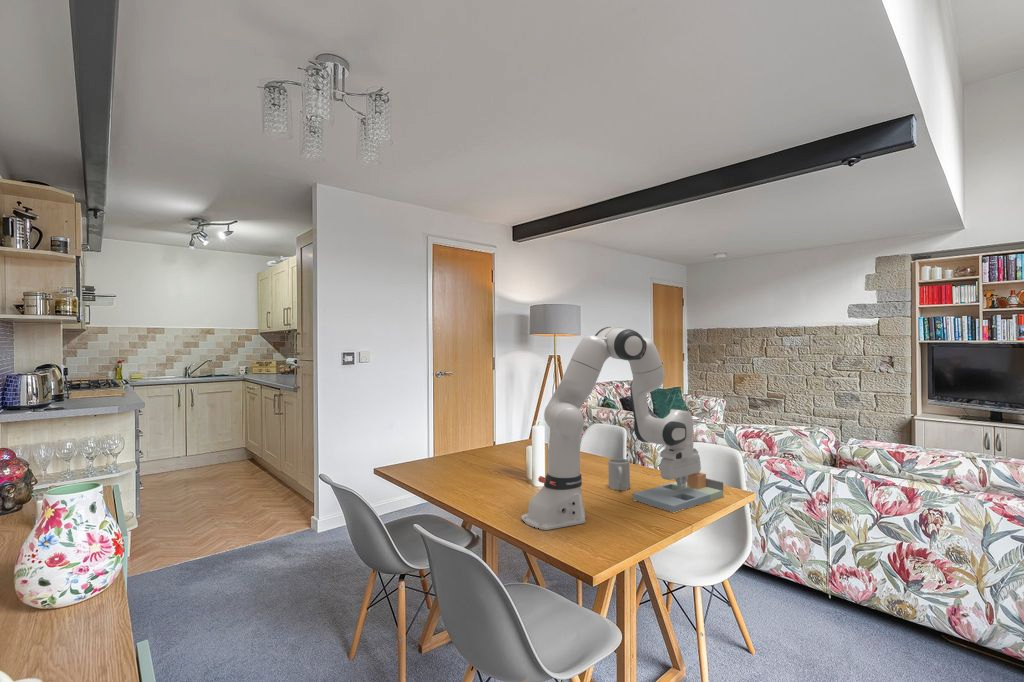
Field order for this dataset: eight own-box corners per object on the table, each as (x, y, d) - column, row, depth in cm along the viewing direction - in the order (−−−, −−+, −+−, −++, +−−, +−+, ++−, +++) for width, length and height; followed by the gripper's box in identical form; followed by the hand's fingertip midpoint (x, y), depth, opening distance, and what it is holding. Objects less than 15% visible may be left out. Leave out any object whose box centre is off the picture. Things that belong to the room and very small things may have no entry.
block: (698, 489, 183) (698, 475, 183) (687, 486, 187) (686, 473, 187) (706, 486, 186) (705, 473, 186) (694, 483, 190) (694, 471, 190)
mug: (607, 484, 200) (607, 458, 200) (628, 484, 199) (628, 458, 199) (610, 493, 188) (609, 465, 188) (632, 493, 187) (631, 465, 187)
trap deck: (673, 513, 164) (673, 497, 164) (632, 500, 179) (632, 485, 179) (723, 496, 181) (723, 482, 181) (682, 486, 196) (682, 472, 196)
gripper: (690, 446, 190) (690, 481, 190) (657, 453, 179) (657, 490, 179) (704, 449, 185) (705, 485, 185) (671, 456, 174) (671, 494, 173)
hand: (681, 487), depth 182 cm, fingers closed
